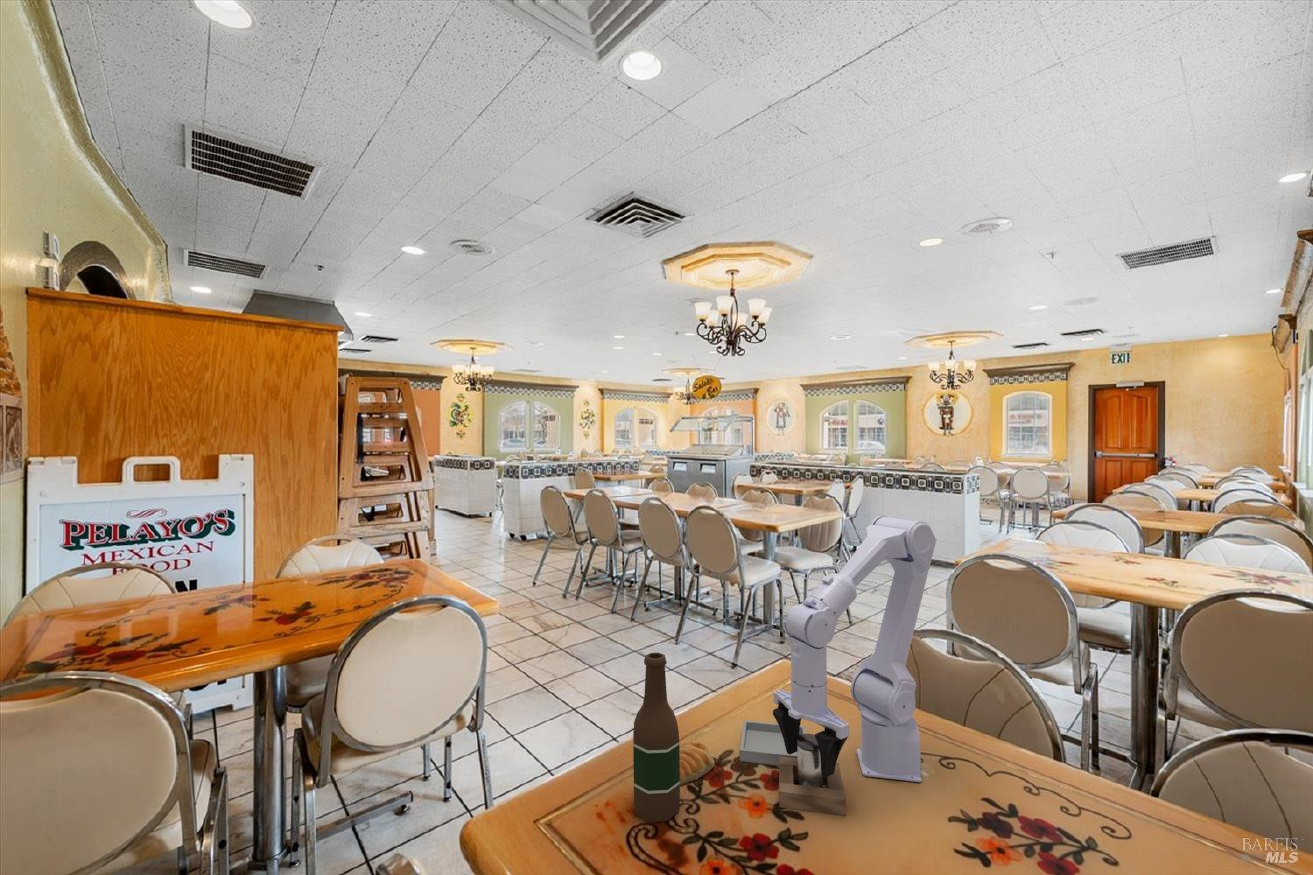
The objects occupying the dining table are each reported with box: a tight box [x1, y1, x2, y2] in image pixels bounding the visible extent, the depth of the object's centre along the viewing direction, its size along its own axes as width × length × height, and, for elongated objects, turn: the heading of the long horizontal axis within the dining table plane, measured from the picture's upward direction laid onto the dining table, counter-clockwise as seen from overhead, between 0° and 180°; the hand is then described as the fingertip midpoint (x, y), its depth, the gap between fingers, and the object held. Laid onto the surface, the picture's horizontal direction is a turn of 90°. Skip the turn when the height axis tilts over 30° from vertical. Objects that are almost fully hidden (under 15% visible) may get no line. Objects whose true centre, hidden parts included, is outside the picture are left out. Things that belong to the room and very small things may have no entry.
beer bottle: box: [632, 652, 681, 823], centre depth 87 cm, size 8×8×24 cm
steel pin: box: [797, 733, 824, 788], centre depth 91 cm, size 4×4×8 cm
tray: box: [739, 720, 807, 767], centre depth 104 cm, size 12×11×2 cm
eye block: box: [778, 756, 847, 817], centre depth 91 cm, size 10×10×2 cm
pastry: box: [680, 741, 715, 786], centre depth 97 cm, size 9×7×4 cm
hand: (809, 762), depth 91 cm, fingers open, 7 cm apart
